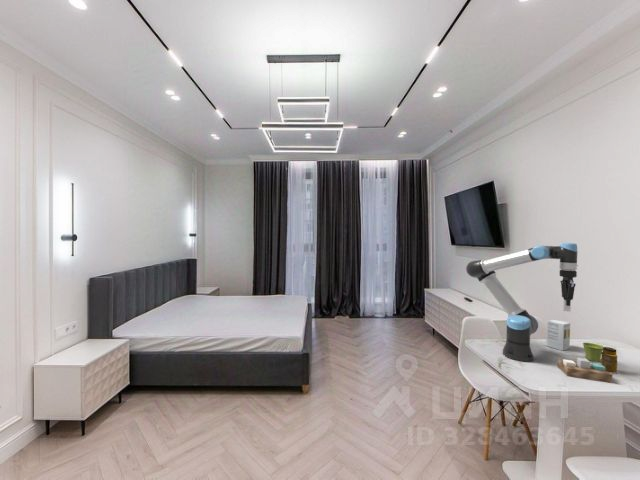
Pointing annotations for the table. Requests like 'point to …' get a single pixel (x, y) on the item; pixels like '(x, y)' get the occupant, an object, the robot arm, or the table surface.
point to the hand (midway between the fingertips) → (566, 311)
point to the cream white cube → (569, 363)
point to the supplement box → (558, 334)
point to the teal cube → (598, 367)
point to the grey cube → (583, 363)
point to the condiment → (609, 360)
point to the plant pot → (593, 351)
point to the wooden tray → (585, 372)
